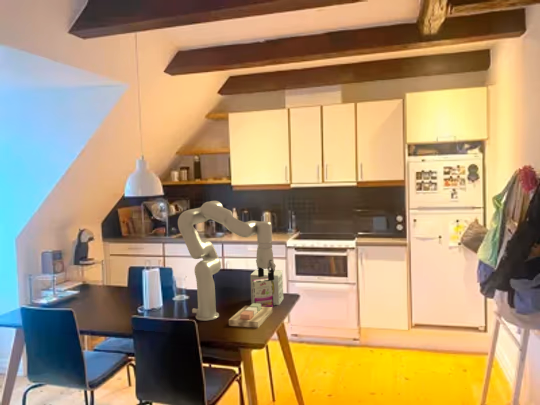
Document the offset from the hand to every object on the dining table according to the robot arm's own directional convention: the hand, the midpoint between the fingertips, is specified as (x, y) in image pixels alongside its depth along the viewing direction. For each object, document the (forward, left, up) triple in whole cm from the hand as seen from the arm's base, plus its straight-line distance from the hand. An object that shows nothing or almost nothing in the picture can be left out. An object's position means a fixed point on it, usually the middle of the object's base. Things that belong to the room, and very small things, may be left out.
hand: (266, 278), depth 228 cm
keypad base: (-11, +4, -24) cm, 26 cm away
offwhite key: (-11, +4, -21) cm, 24 cm away
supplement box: (-12, +35, -24) cm, 44 cm away
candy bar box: (-11, +24, -24) cm, 36 cm away
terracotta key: (-11, -3, -21) cm, 24 cm away
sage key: (-11, +11, -21) cm, 26 cm away
